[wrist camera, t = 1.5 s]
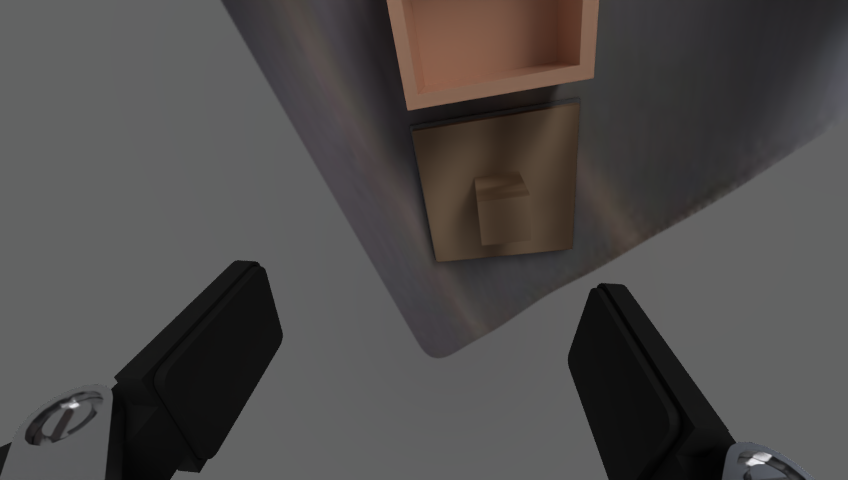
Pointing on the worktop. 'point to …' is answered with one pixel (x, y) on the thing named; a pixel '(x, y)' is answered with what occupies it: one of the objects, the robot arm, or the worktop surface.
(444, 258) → the lid
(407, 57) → the open box
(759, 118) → the worktop surface
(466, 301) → the worktop surface
